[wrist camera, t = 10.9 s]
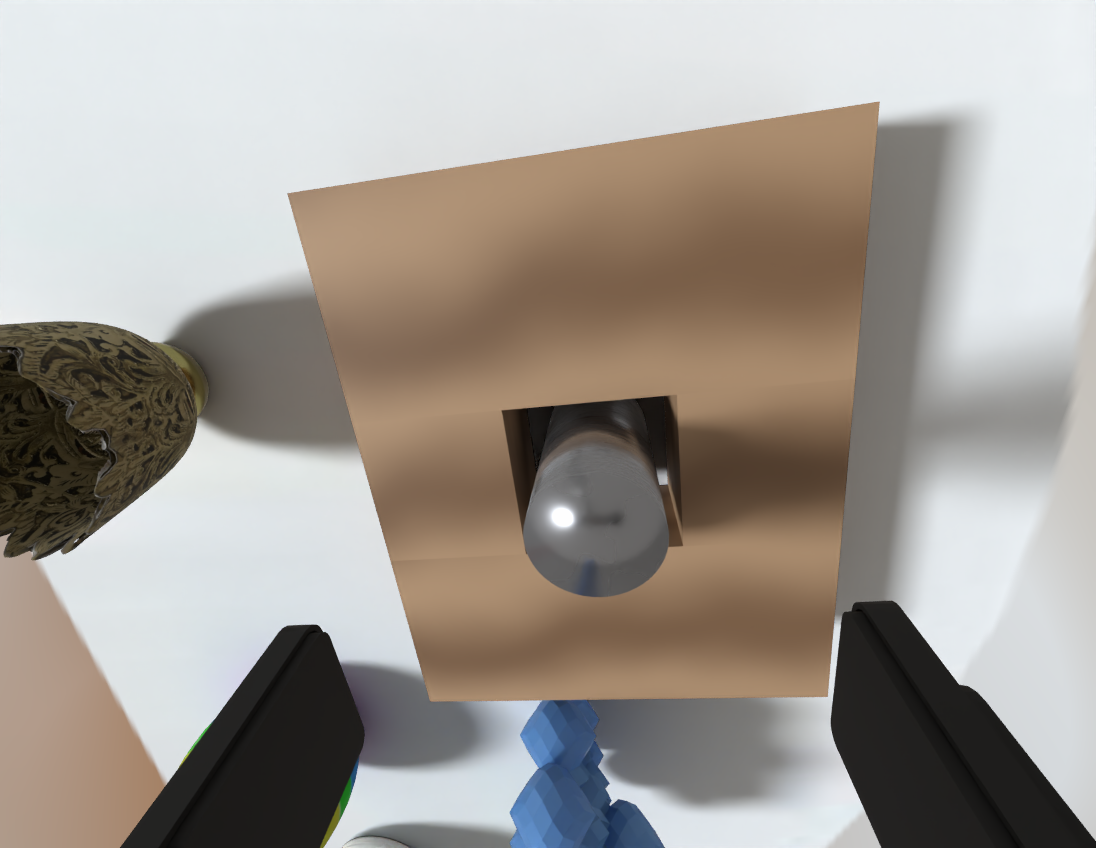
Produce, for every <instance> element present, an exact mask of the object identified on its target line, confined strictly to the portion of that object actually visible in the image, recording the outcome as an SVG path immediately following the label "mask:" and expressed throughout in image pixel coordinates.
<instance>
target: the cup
mask: <svg viewBox="0 0 1096 848" xmlns="http://www.w3.org/2000/svg"><path fill="white" fill-rule="evenodd" d="M208 395H209V387H208V381H207V378H206V376H205V374H204V372H203V370H202V368H201V367H200V365H199V364H198V363H197V362H196V361H195V360H194V359H193V358H192V357H191V356H190V355H189V354H187V353H186V352H184V351H183V350H181V349H179V348H177V347H174V346H172V345H168V344H163V343H158V342H150V341H148V340H147V339H145V338H143V337H141V336H139V335H136V334H134V333H132V332H129V331H127V330H124V329H121V328H117V327H113V326H109V325H104V324H98V323H88V322H37V323H21V324H6V325H0V537H1V536H4V535H7V534H10V533H11V534H10V536H9V537H8V538H7V541H8V543H7V545H6V547H5V550H4V557H9V558H10V557H15V556H18V555H20V554H23V553H25V552H28V551H31V552H33V557H32V559H31V560H38V559H41V558H44V557H46V556H48V555H51V554H53V553H54V552H56V551H58V550H60V549H62V548H63V549H62V550H61V552H62V554H66V553H68V552H70V551H72V550H73V549H75V548H76V547H77V546H78V545H79V544H81V543H82V542H83V541H84V540H85V539H87V538H88V537H89V536H91V535H92V534H93V533H94V532H96V531H97V530H98V529H99V528H101V527H102V526H103V525H105V524H106V523H107V522H108V521H110V520H111V519H112V518H114V517H115V516H116V515H117V514H119V513H120V512H121V511H122V510H124V509H125V508H126V507H128V506H129V505H130V504H131V503H133V502H134V501H135V500H136V499H138V498H139V497H140V496H141V495H143V494H144V493H145V492H146V491H148V490H149V489H150V488H151V487H152V486H154V485H155V484H156V483H157V482H158V481H159V480H161V479H162V478H163V477H164V476H165V475H166V474H167V473H168V472H169V471H170V470H171V469H172V468H173V467H174V466H175V465H176V464H177V463H178V462H179V460H180V459H181V458H182V457H183V456H184V454H185V453H186V451H187V449H188V448H189V446H190V444H191V442H192V439H193V437H194V433H195V429H196V424H197V417H198V416H199V414H200V413H201V412H202V410H203V409H204V407H205V405H206V403H207V400H208ZM78 538H79V539H78ZM76 539H78V540H77V542H75V543H74V541H75V540H76ZM73 543H74V544H73Z"/></svg>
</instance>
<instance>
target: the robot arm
mask: <svg viewBox="0 0 1096 848" xmlns="http://www.w3.org/2000/svg"><path fill="white" fill-rule="evenodd" d="M831 730H832V735H833V738H834V742H835V744H836V747H837V749H838V751H839V754H840V756H841V758H842V760H843V763H844V765H845V767H846V769H847V771H848V774H849V776H850V778H851V780H852V783H853V785H854V787H855V789H856V792H857V794H858V796H859V798H860V801H861V803H862V805H863V807H864V810H865V812H866V814H867V816H868V819H869V821H870V823H871V825H872V828H873V830H874V832H875V834H876V836H877V839H878V841H879V843H880V845H881V848H1096V841H1095V840H1094V838H1093V837H1092V836H1091V835H1090V834H1089V832H1088V831H1087V830H1086V828H1085V827H1084V826H1083V824H1082V823H1081V822H1080V821H1079V819H1078V818H1077V817H1076V815H1075V814H1074V813H1073V812H1072V810H1071V809H1070V808H1069V807H1068V805H1067V804H1066V803H1065V802H1064V801H1063V799H1062V798H1061V796H1060V795H1059V794H1058V793H1057V791H1056V790H1055V789H1054V788H1053V786H1052V785H1051V784H1050V782H1049V781H1048V780H1047V779H1046V777H1045V776H1044V775H1043V774H1042V772H1041V771H1040V770H1039V768H1038V767H1037V766H1036V765H1035V764H1034V762H1033V761H1032V760H1031V758H1030V757H1029V756H1028V754H1027V753H1026V752H1025V751H1024V749H1023V748H1022V747H1021V746H1020V744H1019V743H1018V742H1017V741H1016V739H1015V738H1014V737H1013V735H1012V734H1011V733H1010V732H1009V731H1008V729H1007V728H1006V726H1005V725H1004V724H1003V723H1002V721H1001V720H1000V719H999V718H998V716H997V715H996V714H995V712H994V711H993V710H992V709H991V707H990V706H989V705H988V704H987V702H986V701H985V700H984V699H983V698H982V697H981V696H980V695H979V694H978V693H977V692H976V691H975V690H973V689H972V688H970V687H968V686H964V685H959V684H958V683H957V681H956V680H955V679H954V677H953V676H952V675H951V673H950V672H949V671H948V670H947V668H946V667H945V666H944V664H943V663H942V662H941V660H940V659H939V658H938V656H937V655H936V654H935V652H934V651H933V650H932V648H931V647H930V646H929V644H928V643H927V642H926V640H925V639H924V638H923V637H922V635H921V634H920V633H919V631H918V630H917V629H916V627H915V626H914V625H913V623H912V622H911V621H910V619H909V618H908V617H907V615H906V614H905V613H904V611H903V610H902V609H901V608H900V606H899V605H898V604H897V603H895V602H893V601H875V602H856V603H854V605H853V607H852V612H844V613H843V615H842V622H841V631H840V640H839V649H838V658H837V667H836V677H835V686H834V695H833V704H832V713H831ZM364 736H365V734H364V727H363V724H362V721H361V719H360V716H359V713H358V711H357V708H356V705H355V703H354V700H353V697H352V695H351V692H350V689H349V687H348V684H347V681H346V679H345V676H344V673H343V671H342V668H341V665H340V663H339V660H338V657H337V655H336V652H335V649H334V647H333V644H332V641H331V639H330V636H329V635H328V634H327V633H326V632H323V631H322V629H321V628H320V627H319V626H318V625H292V626H286V627H284V628H283V629H282V630H281V631H280V632H279V633H278V634H277V636H276V637H275V638H274V640H273V641H272V642H271V644H270V645H269V646H268V648H267V649H266V651H265V652H264V653H263V655H262V656H261V657H260V659H259V660H258V661H257V663H256V664H255V665H254V667H253V668H252V670H251V671H250V672H249V674H248V675H247V676H246V678H245V679H244V680H243V682H242V683H241V684H240V686H239V687H238V688H237V690H236V691H235V693H234V694H233V695H232V697H231V698H230V699H229V701H228V702H227V703H226V705H225V706H224V707H223V709H222V710H221V712H220V713H219V714H218V716H217V717H216V718H215V720H214V721H213V722H212V724H211V725H210V726H209V728H208V729H207V731H206V732H205V733H204V735H203V736H202V737H201V739H200V740H199V741H198V743H197V744H196V745H195V747H194V748H193V750H192V751H191V752H190V754H189V755H188V756H187V758H186V759H185V760H184V762H183V763H182V764H181V766H180V767H179V769H178V770H177V771H176V773H175V774H174V775H173V777H172V778H171V779H170V781H169V782H168V783H167V785H166V786H165V787H164V789H163V790H162V792H161V793H160V794H159V796H158V797H157V798H156V800H155V801H154V802H153V804H152V805H151V806H150V808H149V809H148V811H147V812H146V813H145V815H144V816H143V817H142V819H141V820H140V821H139V823H138V824H137V825H136V827H135V828H134V830H133V831H132V832H131V834H130V835H129V836H128V838H127V839H126V840H125V842H124V843H123V844H122V846H121V847H120V848H320V846H321V844H322V842H323V839H324V837H325V835H326V832H327V830H328V828H329V825H330V823H331V821H332V818H333V816H334V814H335V811H336V809H337V807H338V804H339V802H340V799H341V797H342V795H343V792H344V790H345V788H346V785H347V783H348V781H349V778H350V776H351V774H352V771H353V769H354V767H355V764H356V762H357V760H358V757H359V755H360V753H361V750H362V747H363V743H364Z"/></svg>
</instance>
